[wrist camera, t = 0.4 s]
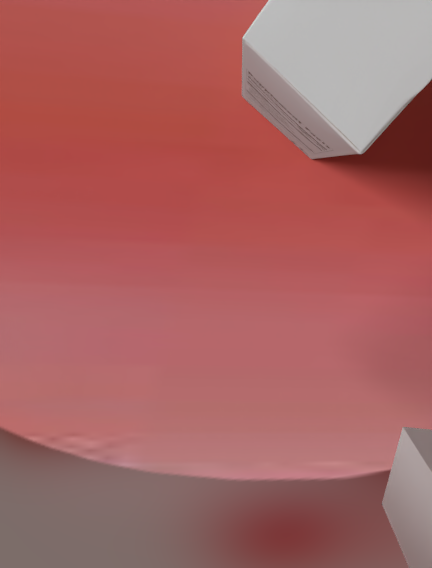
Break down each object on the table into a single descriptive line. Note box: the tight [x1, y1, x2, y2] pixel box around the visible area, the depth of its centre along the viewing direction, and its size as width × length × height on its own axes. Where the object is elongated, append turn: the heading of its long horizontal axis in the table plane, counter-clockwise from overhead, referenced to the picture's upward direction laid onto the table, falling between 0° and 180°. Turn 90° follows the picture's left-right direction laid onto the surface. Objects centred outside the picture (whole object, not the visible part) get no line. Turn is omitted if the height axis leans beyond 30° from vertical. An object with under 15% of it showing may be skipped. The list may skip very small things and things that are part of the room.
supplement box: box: [242, 0, 432, 159], centre depth 25 cm, size 9×9×15 cm
